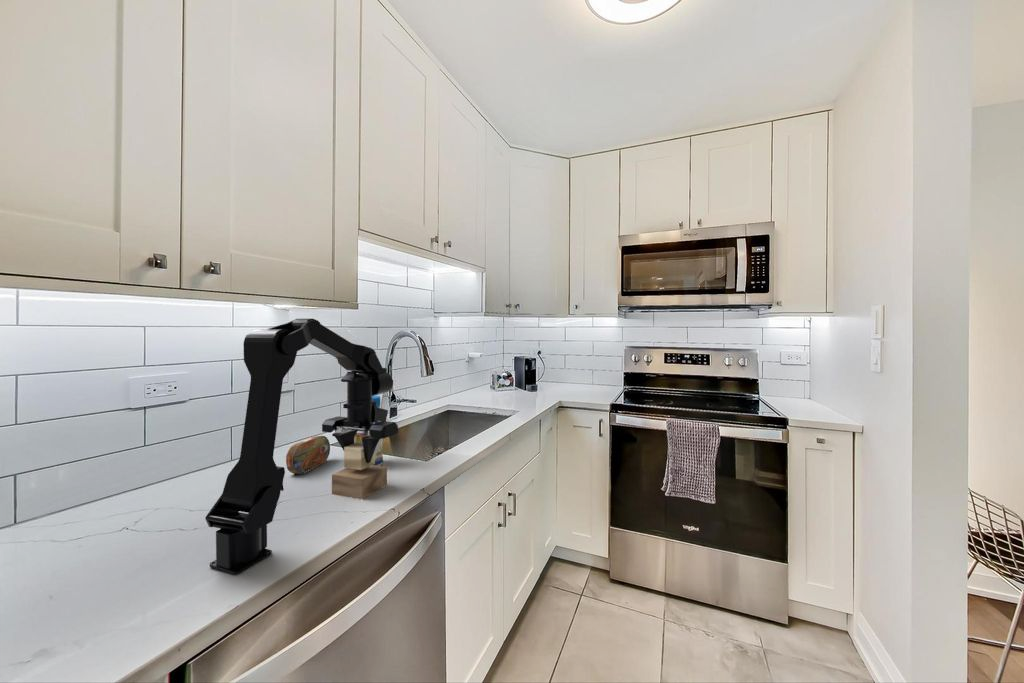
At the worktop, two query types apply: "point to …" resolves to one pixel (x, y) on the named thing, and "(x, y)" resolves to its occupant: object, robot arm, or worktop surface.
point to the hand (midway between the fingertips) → (359, 461)
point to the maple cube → (356, 457)
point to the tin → (307, 454)
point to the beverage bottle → (362, 434)
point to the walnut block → (359, 481)
